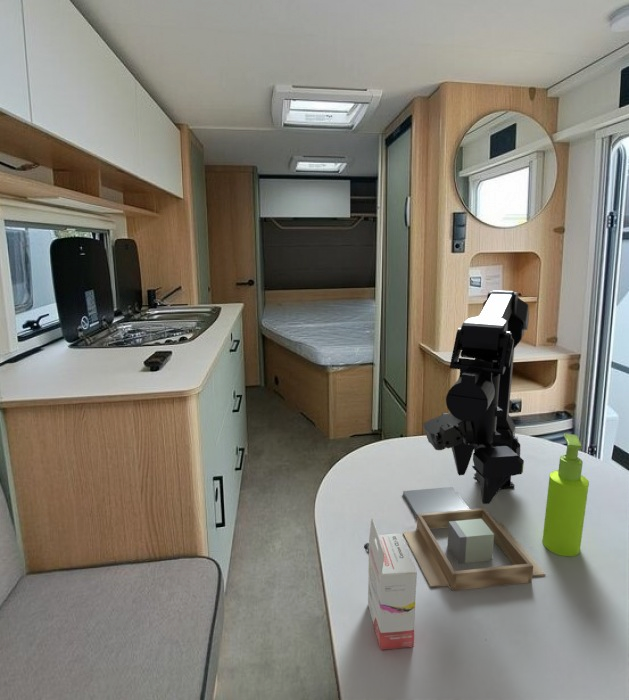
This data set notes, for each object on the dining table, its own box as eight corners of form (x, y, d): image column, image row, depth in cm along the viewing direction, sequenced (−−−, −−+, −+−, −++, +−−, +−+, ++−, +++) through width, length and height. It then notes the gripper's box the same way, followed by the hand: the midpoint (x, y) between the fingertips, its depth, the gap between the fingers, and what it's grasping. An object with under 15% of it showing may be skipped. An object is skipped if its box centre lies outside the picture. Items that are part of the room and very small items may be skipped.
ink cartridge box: (416, 648, 62) (419, 552, 59) (379, 651, 62) (381, 555, 58) (399, 600, 71) (401, 513, 67) (366, 602, 70) (367, 515, 67)
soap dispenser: (575, 535, 85) (588, 433, 80) (582, 559, 79) (597, 450, 74) (539, 529, 87) (550, 429, 82) (544, 552, 80) (556, 445, 76)
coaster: (452, 490, 101) (452, 486, 100) (473, 516, 91) (473, 513, 91) (403, 494, 99) (403, 491, 99) (418, 521, 90) (419, 518, 90)
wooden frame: (497, 520, 90) (499, 506, 89) (549, 580, 74) (551, 563, 73) (401, 529, 87) (401, 515, 87) (433, 593, 72) (434, 576, 71)
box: (479, 543, 83) (481, 518, 82) (491, 560, 79) (494, 534, 78) (447, 546, 83) (448, 521, 81) (458, 563, 78) (459, 537, 77)
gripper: (411, 385, 82) (408, 465, 86) (454, 425, 64) (448, 525, 68) (471, 381, 84) (466, 461, 87) (530, 420, 66) (520, 518, 69)
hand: (472, 488), depth 78 cm, fingers open, 9 cm apart
